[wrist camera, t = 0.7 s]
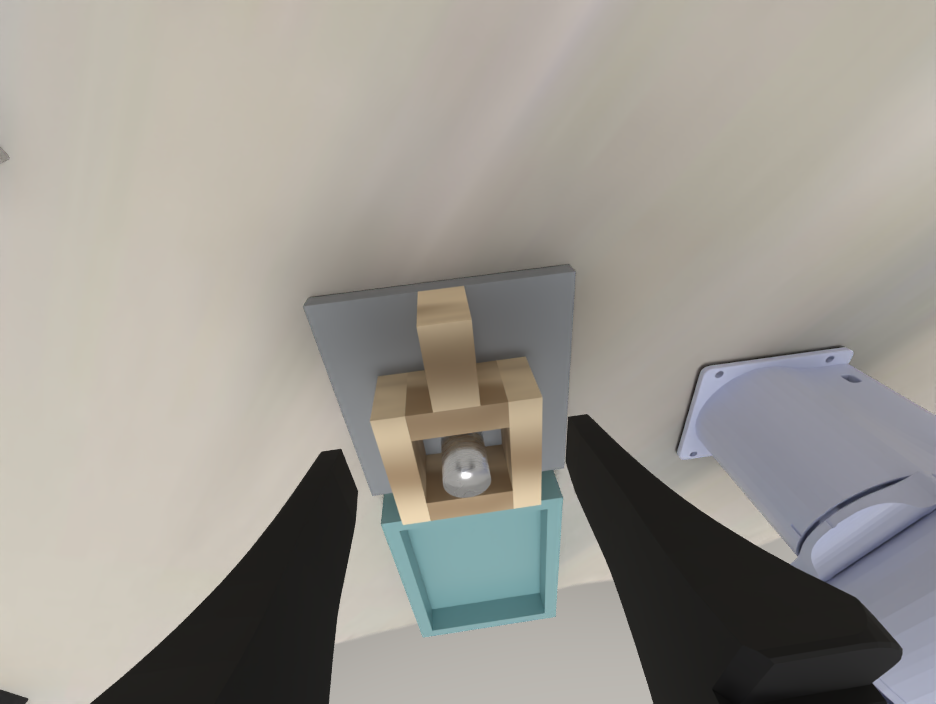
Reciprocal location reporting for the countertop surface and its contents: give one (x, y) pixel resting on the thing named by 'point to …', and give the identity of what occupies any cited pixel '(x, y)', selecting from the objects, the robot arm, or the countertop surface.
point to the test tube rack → (3, 156)
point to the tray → (479, 564)
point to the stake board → (495, 338)
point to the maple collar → (457, 417)
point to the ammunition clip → (11, 698)
